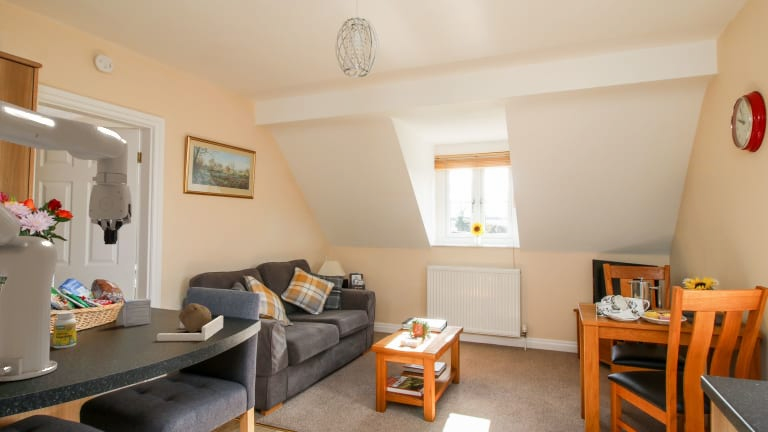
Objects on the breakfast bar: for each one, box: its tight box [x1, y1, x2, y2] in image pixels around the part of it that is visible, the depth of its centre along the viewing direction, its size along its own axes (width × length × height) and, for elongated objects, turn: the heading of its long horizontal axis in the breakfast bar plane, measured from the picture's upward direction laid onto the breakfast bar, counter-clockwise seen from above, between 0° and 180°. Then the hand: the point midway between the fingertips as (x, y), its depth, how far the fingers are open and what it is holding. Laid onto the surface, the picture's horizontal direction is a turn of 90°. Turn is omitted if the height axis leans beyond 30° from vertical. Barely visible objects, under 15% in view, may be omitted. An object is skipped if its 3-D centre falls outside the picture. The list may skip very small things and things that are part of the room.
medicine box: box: [122, 297, 152, 328], centre depth 156 cm, size 8×4×9 cm, turn 130°
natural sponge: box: [178, 302, 212, 333], centre depth 146 cm, size 9×9×10 cm
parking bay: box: [156, 315, 224, 342], centre depth 143 cm, size 18×14×4 cm
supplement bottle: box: [52, 310, 77, 349], centre depth 127 cm, size 5×5×10 cm
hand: (110, 244), depth 128 cm, fingers closed
